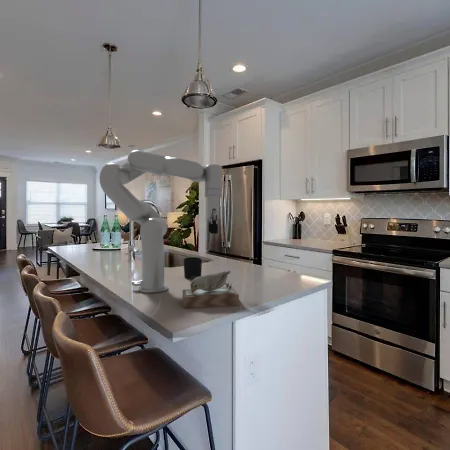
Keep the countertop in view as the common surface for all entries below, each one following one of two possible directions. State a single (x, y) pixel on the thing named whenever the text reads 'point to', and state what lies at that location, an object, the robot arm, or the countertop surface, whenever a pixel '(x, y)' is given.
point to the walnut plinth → (210, 298)
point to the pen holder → (192, 267)
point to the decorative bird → (210, 282)
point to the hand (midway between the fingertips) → (212, 232)
